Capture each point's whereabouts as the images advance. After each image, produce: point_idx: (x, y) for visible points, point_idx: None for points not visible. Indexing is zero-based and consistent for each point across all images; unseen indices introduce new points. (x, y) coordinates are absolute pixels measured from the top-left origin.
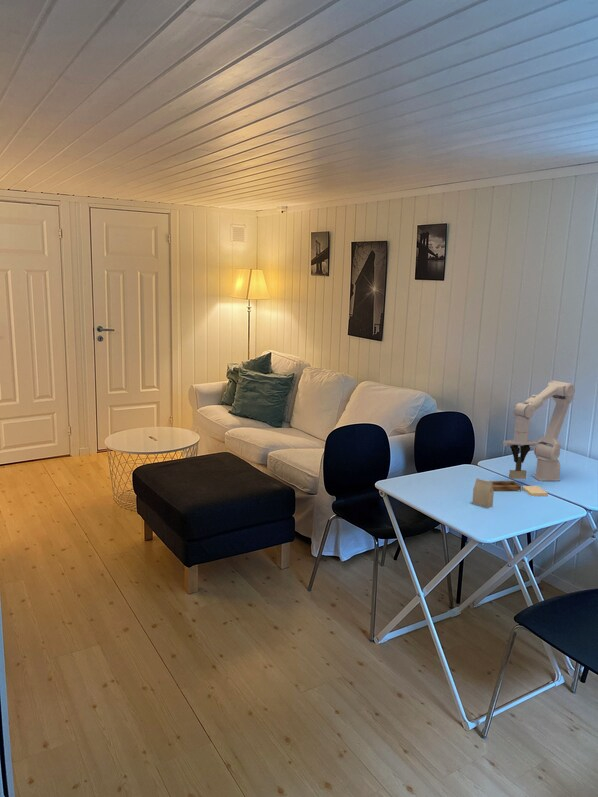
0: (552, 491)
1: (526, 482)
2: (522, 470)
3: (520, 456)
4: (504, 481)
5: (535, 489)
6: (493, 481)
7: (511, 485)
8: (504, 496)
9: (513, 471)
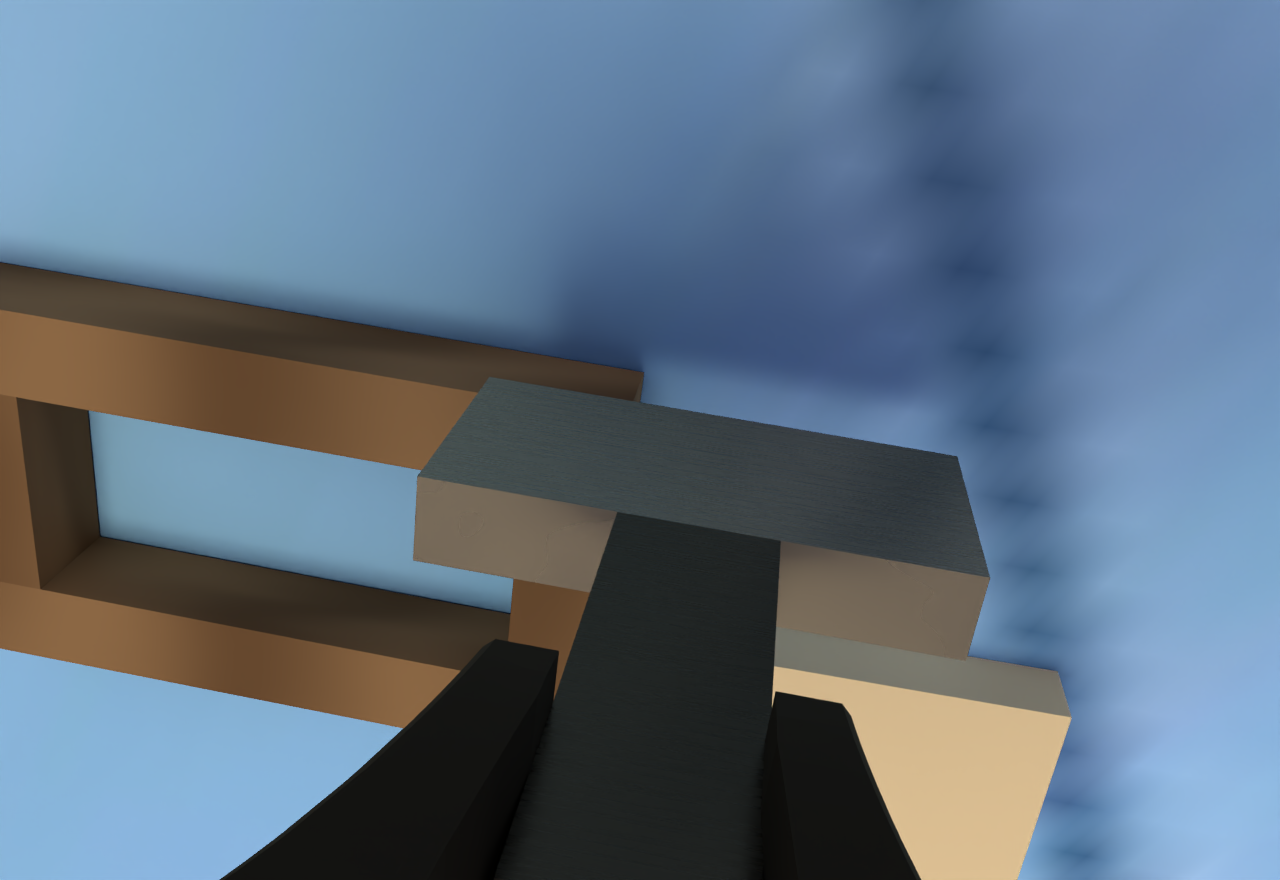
0: (1270, 851)
1: (1136, 223)
2: (848, 595)
3: (779, 866)
4: (353, 406)
5: None
6: (77, 357)
7: (400, 667)
8: (173, 832)
9: (508, 569)
